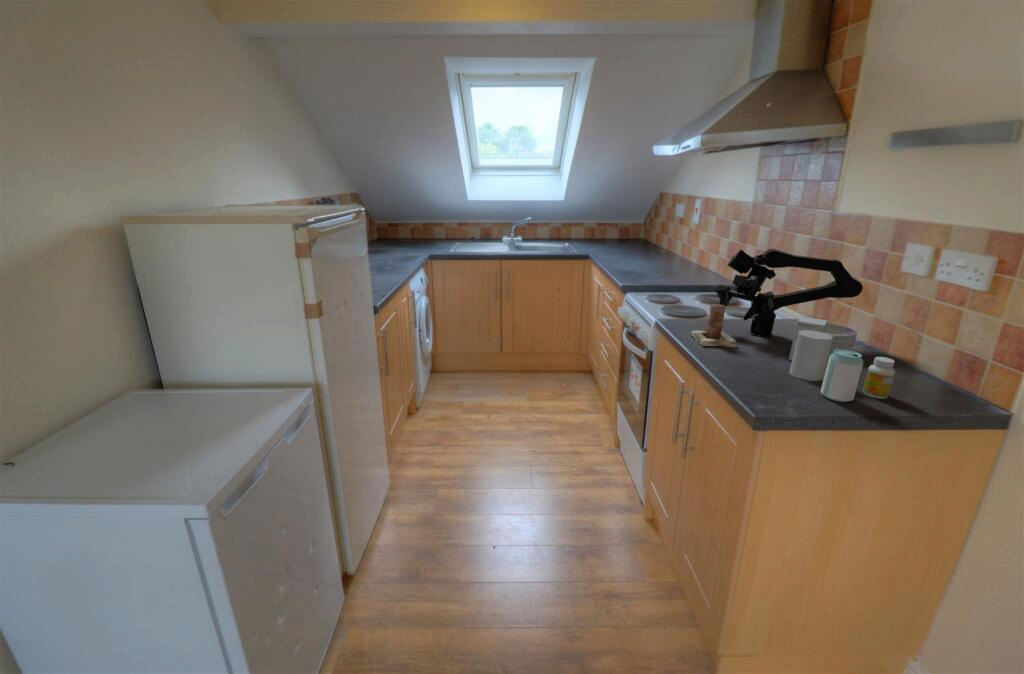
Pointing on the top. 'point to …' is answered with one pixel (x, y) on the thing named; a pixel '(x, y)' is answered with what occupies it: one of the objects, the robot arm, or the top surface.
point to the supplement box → (807, 324)
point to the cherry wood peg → (715, 321)
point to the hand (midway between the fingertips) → (731, 316)
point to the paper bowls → (840, 337)
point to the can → (842, 375)
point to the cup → (810, 355)
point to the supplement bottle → (879, 378)
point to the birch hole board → (723, 341)
